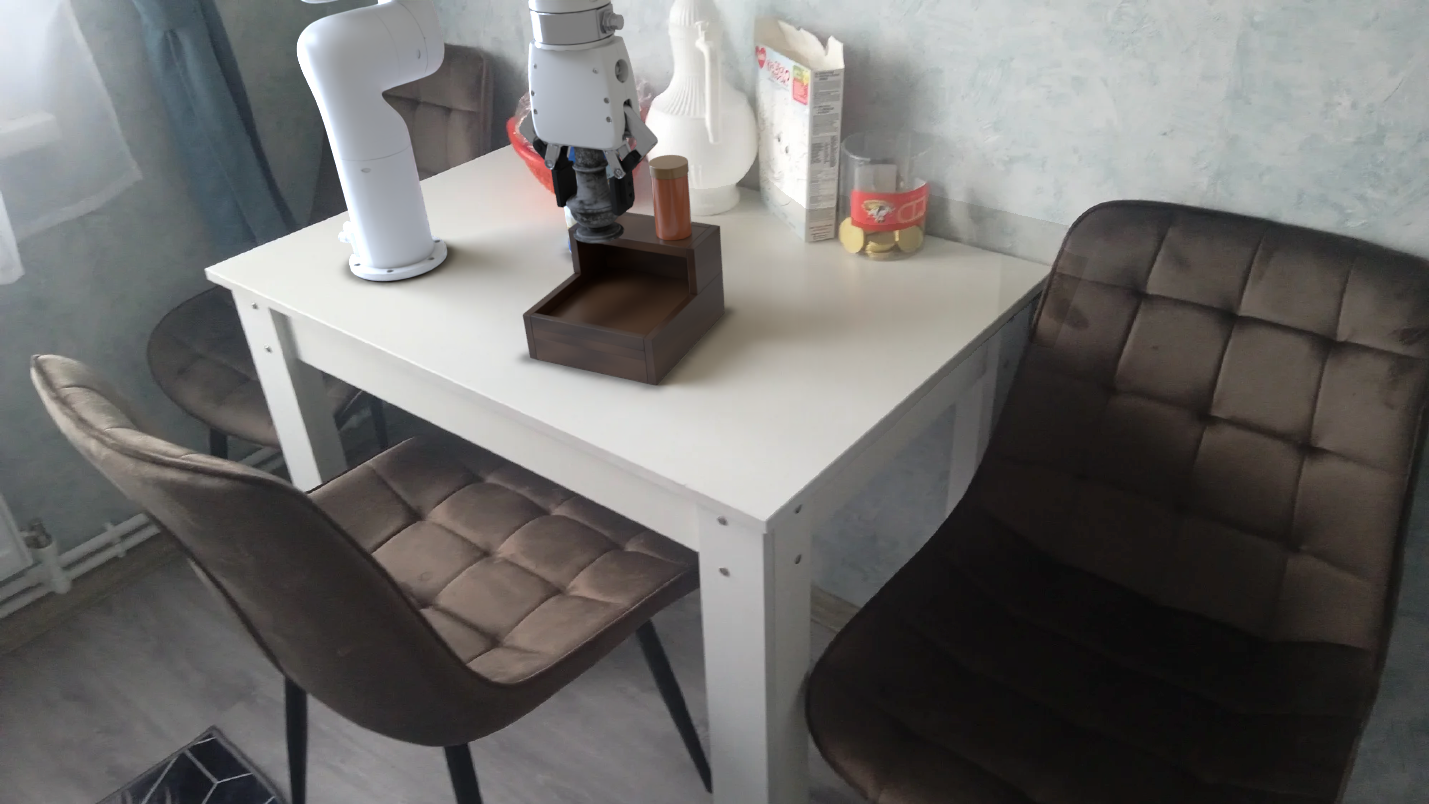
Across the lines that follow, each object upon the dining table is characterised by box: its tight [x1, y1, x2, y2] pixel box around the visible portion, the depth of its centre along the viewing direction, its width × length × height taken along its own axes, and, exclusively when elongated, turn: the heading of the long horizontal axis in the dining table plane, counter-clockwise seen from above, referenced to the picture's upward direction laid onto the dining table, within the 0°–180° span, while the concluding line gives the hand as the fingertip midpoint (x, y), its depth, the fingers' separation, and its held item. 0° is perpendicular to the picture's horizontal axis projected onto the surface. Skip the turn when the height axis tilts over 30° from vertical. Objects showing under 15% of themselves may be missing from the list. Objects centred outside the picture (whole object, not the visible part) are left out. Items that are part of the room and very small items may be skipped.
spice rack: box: [522, 211, 726, 386], centre depth 115 cm, size 16×17×11 cm
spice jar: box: [648, 154, 692, 240], centre depth 112 cm, size 4×4×8 cm
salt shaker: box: [566, 147, 624, 243], centre depth 104 cm, size 6×6×12 cm
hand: (595, 205), depth 106 cm, fingers closed on salt shaker, 5 cm apart
